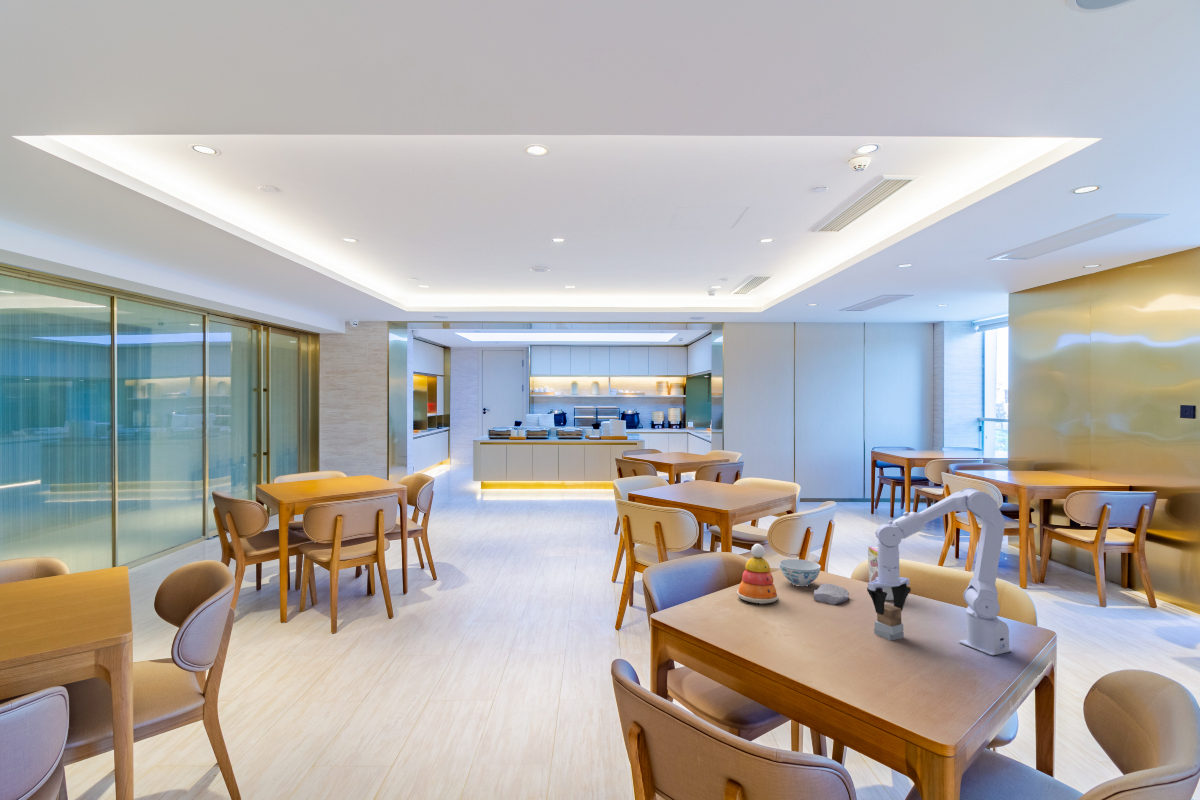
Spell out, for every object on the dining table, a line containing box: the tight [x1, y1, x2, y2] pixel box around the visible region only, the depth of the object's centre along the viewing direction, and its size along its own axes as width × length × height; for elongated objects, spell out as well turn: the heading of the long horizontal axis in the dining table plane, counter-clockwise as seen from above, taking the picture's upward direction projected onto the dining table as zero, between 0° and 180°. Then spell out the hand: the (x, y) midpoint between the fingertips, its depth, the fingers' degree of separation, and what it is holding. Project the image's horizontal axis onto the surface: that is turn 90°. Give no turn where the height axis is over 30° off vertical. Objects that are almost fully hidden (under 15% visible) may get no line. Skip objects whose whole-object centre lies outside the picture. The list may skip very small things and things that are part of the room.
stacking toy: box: [736, 543, 779, 605], centre depth 195 cm, size 14×14×20 cm
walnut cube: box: [876, 603, 902, 626], centre depth 163 cm, size 4×4×4 cm
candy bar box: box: [867, 546, 894, 602], centre depth 198 cm, size 11×5×16 cm, turn 178°
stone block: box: [813, 583, 850, 606], centre depth 195 cm, size 12×5×10 cm
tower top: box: [874, 620, 904, 635], centre depth 163 cm, size 6×6×2 cm
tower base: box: [873, 627, 905, 641], centre depth 163 cm, size 6×6×2 cm
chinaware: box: [778, 558, 822, 586], centre depth 212 cm, size 15×15×8 cm
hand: (889, 611), depth 162 cm, fingers open, 7 cm apart
